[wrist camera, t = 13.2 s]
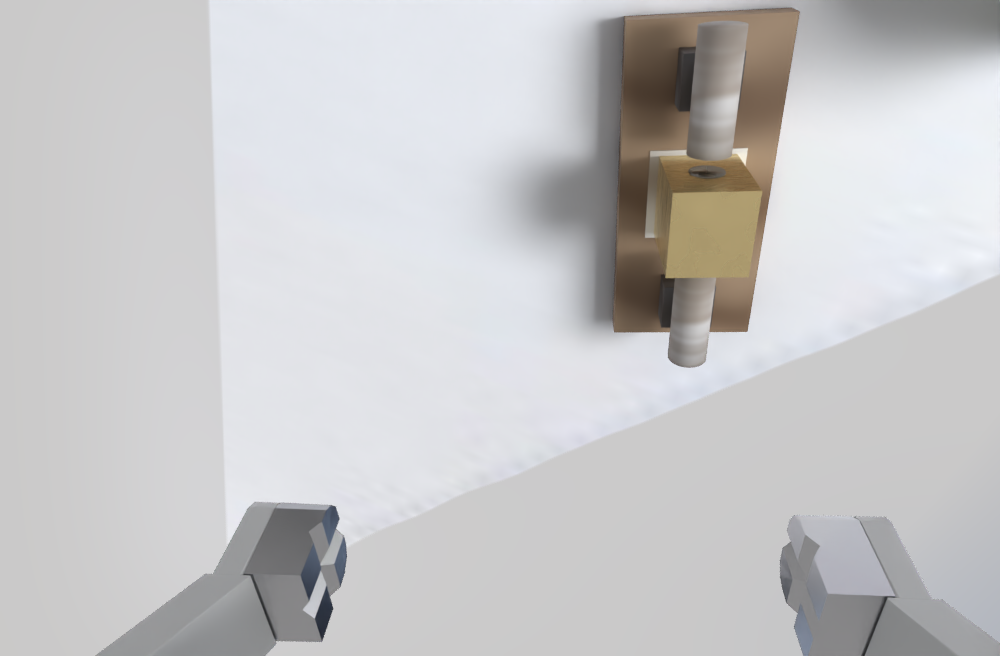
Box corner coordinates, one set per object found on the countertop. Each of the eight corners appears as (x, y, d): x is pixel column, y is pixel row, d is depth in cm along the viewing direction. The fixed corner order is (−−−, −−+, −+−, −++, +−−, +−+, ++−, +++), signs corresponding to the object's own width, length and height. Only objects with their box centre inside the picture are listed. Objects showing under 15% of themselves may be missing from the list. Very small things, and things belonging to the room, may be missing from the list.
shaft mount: (624, 16, 38) (632, 33, 33) (791, 7, 37) (825, 24, 32) (612, 321, 48) (618, 367, 43) (742, 320, 47) (762, 367, 43)
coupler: (659, 155, 40) (672, 192, 35) (737, 152, 40) (762, 189, 34) (653, 234, 43) (665, 278, 38) (726, 233, 42) (748, 278, 37)
